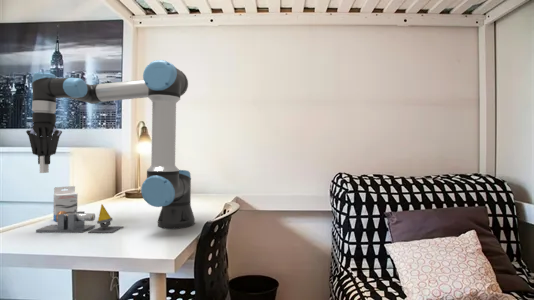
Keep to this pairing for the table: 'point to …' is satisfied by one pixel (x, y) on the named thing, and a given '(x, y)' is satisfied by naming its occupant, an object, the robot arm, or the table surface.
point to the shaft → (78, 216)
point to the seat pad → (108, 230)
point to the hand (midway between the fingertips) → (44, 172)
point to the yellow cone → (104, 218)
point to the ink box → (64, 200)
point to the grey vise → (67, 225)
